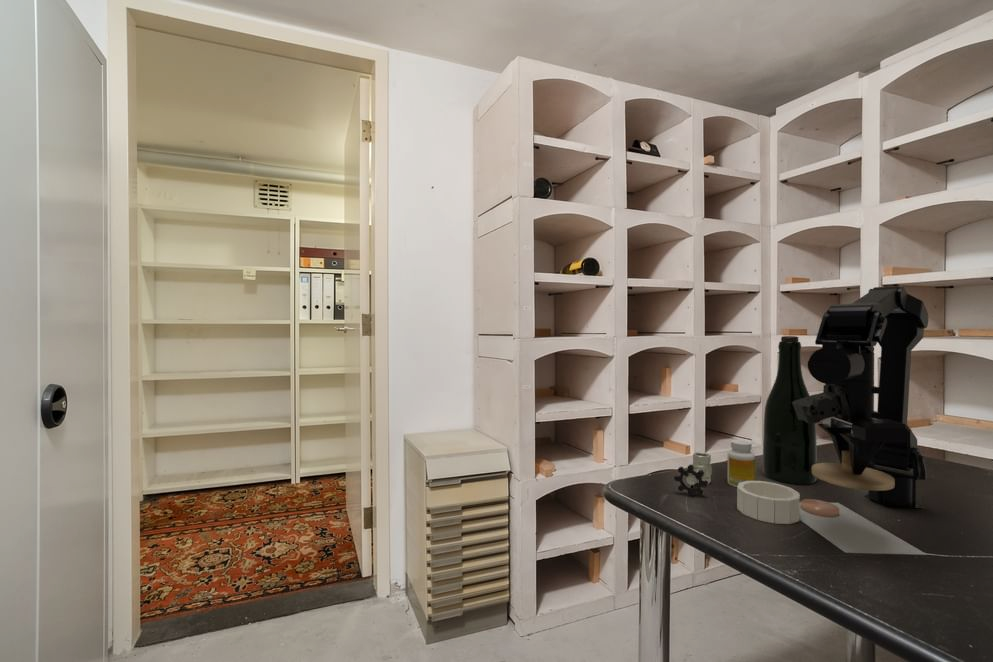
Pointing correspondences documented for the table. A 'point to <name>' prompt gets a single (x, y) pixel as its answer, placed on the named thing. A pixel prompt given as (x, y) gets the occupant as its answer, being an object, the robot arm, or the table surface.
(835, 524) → the mat
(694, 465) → the valve
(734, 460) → the supplement bottle
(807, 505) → the pink glossy dome
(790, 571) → the table surface
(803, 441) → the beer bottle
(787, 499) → the bowl
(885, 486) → the lid
